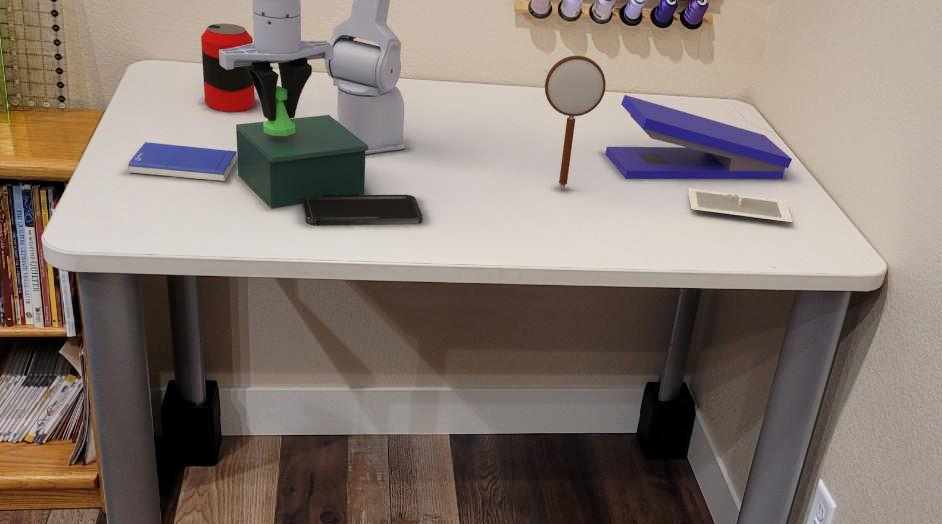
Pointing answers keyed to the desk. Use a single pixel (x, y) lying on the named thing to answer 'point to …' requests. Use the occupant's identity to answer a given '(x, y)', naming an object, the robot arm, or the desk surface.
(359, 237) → the desk surface
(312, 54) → the robot arm
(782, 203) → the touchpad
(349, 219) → the phone
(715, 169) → the stapler
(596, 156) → the desk surface
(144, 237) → the desk surface
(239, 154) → the bin
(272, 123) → the game piece
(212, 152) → the hard drive
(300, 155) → the bin lid
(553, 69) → the magnifying glass
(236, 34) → the soda can
